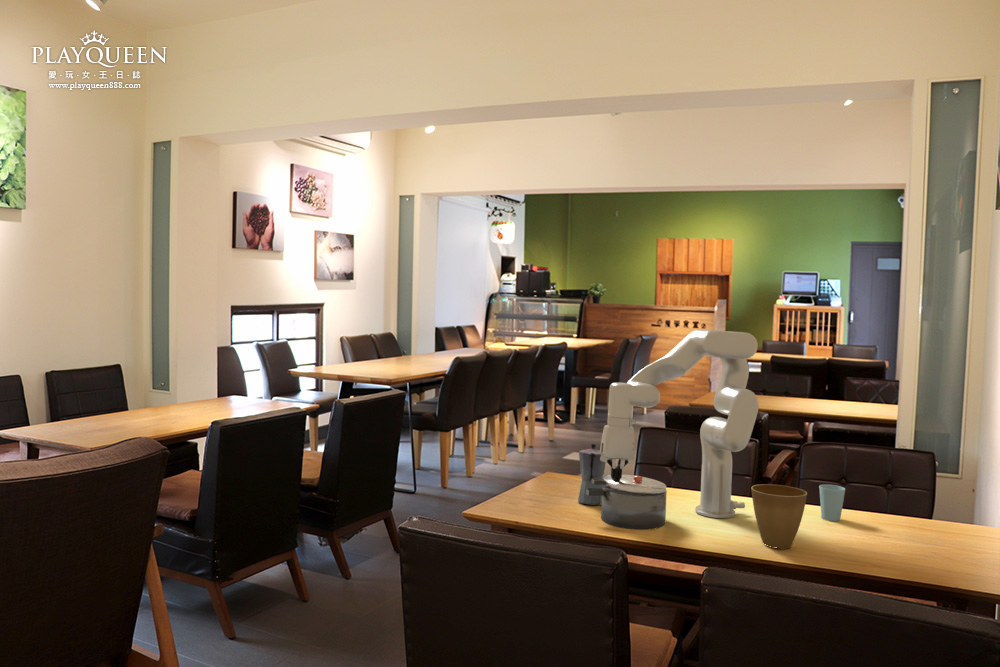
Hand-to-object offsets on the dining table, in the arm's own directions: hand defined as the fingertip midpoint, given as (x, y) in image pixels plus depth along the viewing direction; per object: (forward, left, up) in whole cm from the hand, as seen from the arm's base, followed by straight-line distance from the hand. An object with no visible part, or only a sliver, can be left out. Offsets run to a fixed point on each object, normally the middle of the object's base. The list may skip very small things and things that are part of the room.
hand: (615, 480), depth 227 cm
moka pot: (+2, -20, -13) cm, 24 cm away
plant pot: (-40, +26, -13) cm, 49 cm away
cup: (-72, +2, -13) cm, 73 cm away
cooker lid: (-4, 0, -2) cm, 4 cm away
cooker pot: (-3, 0, -13) cm, 13 cm away
